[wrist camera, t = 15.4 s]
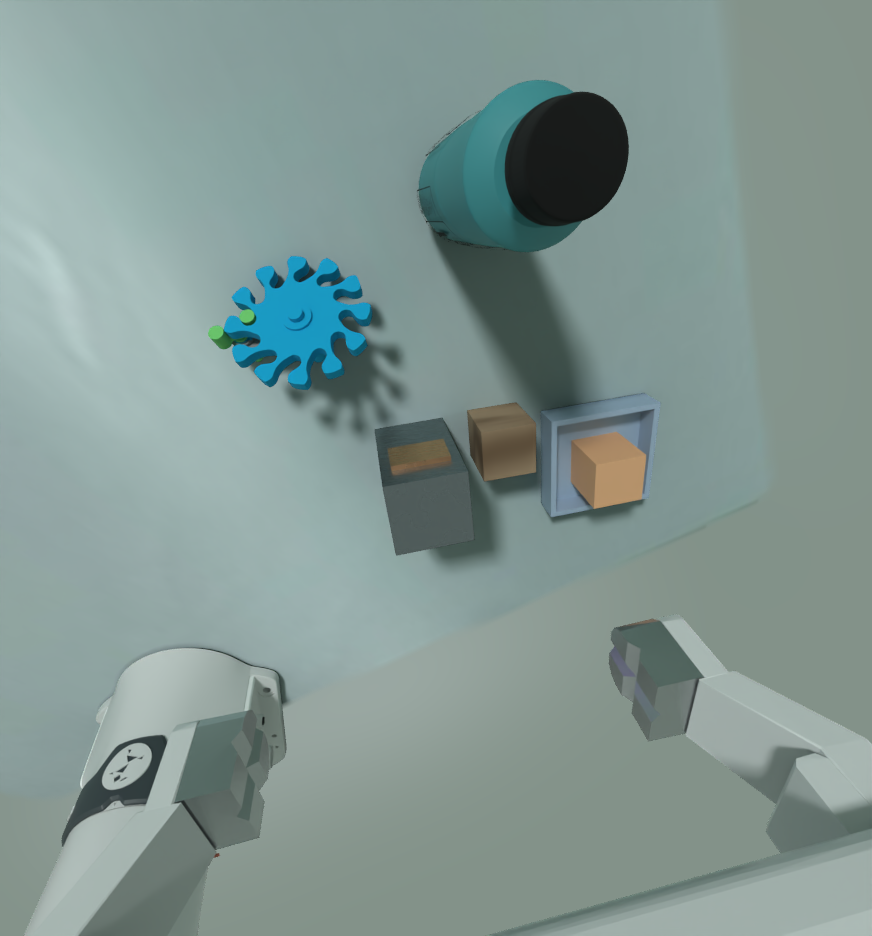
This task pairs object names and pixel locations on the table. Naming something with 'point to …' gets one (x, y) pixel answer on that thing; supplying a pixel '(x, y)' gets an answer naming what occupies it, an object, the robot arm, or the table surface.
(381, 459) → the box
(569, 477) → the tray
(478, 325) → the table surface
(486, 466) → the walnut block
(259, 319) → the gear
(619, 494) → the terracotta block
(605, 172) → the beverage bottle
